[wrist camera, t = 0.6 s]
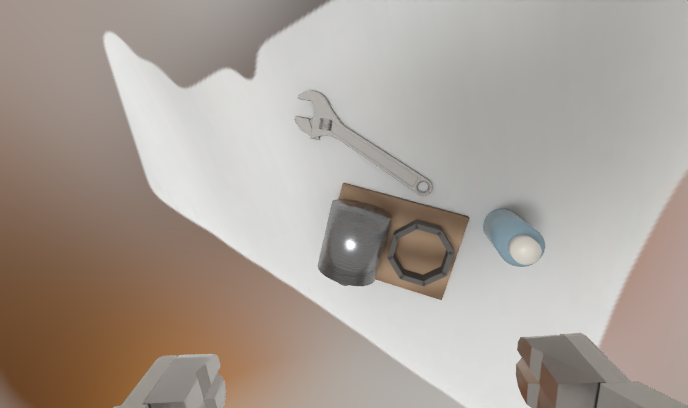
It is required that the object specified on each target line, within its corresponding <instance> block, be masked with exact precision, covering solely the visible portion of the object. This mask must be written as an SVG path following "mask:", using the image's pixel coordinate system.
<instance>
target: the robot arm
mask: <svg viewBox="0 0 688 408" xmlns="http://www.w3.org/2000/svg"><path fill="white" fill-rule="evenodd" d="M517 350H518V352H519V354H520V355H521V357H522V358H521V359H520V361H519V362H518V363H517V364H516V378H517V383H518V387H519V390H520V392H521V395H522V397H523V399H524V400H525V402H526V404H527V405H529V406H530V407H531V408H688V406H687V405H685V404H683V403H681V402H679V401H677V400H675V399H673V398H671V397H669V396H667V395H665V394H663V393H661V392H659V391H656V390H655V389H652V388H651V387H649V386H647V385H645V384H643V383H641V382H631V381H630V380H629V379H628V378H627V377H626V376H625V374H623V372H621V371H620V369H618V367H617V366H616V365H615V364H614V363H613V362H612V361H610V360H609V359H608V357H607V356H606V355H605V354H604V353H603V352H602V351H601V350H600V349H599V348H598V347H597V346H596V345H595V344H594V343H593V342H592V341H591V340H590V339H589V338H588V337H587V336H586V335H584V334H582V333H572V334H560V335H550V336H534V337H520V339H519V341H518V348H517ZM220 366H221V365H220V362H219V358H218V356H217V355H214V354H198V355H178V356H175V355H174V356H162V357H160V358H158V359H157V360H156V361H155V362H154V364H153V365H152V366H151V368H150V369H149V370H148V371H147V373H146V374H145V375H144V377H143V378H142V379H141V380H140V382H139V383H138V385H137V386H136V387H135V388H134V390H133V391H132V392H131V393H130V395H129V396H128V397H127V399H126V400H125V401H124V403H123V404H122V405H121V406H115V407H113V408H223V407H224V403H225V397H226V386H225V382H224V379H223V378H222V377H221V376H220V375H219V374H218V373H217V372H218V370H219V368H220Z"/></svg>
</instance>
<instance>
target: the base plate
mask: <svg viewBox="0 0 688 408" xmlns="http://www.w3.org/2000/svg"><path fill="white" fill-rule="evenodd" d="M339 199H347V200H354V201H360V202H364V203H367V204H371V205H374V206H377V207H379V208H381V209H384V210H386V211H387V212H389V213H390V214H391V215H392V221H391V224H390V228H389V231H388V235H387V238H386V242H385V246H384V249H383V253H382V256H381V260H380V263H379V267H378V271H377V274H376V278H375V279H376V280H379V281H382V282H386V283H389V284H392V285H395V286H398V287H402V288H405V289H408V290H411V291H414V292H417V293H421V294H424V295H427V296H430V297H433V298H437V299H440V300H442V297H443V294H444V291H445V288H446V285H447V282H448V280H449V277H450V274H451V271H452V268H453V265H454V262H455V259H456V256H457V253H458V250H459V247H460V244H461V241H462V238H463V235H464V232H465V229H466V226H467V223H468V220H469V217H467V216H463V215H460V214H456V213H452V212H449V211H445V210H441V209H438V208H434V207H430V206H427V205H423V204H419V203H416V202H412V201H408V200H404V199H401V198H397V197H393V196H390V195H386V194H382V193H379V192H375V191H371V190H368V189H364V188H360V187H357V186H353V185H349V184H346V183H343V185H342V189H341V193H340V197H339ZM415 220H419V221H423V222H426V223H430V224H433V225H437V226H441V228H442V230H443V231H444V233H445V235H446V237H447V238H448V240H449V242H450V243H451V245H452V247H453V250H454V256H453V259H452V262H451V265H450V268H449V271H448V274H447V276H446V277H444V278H442V279H439V280H437V281H435V282H433V283H431V284H428V285H426V286H421V285H417V284H414V283H411V282H408V281H404V280H401V279H399V277H398V275H397V274H396V272H395V270H394V269H393V267H392V265H391V264H390V262H389V260H388V259H387V257H388V253H389V249H390V246H391V242H392V239H393V235H394V232H395V230H397V229H399V228H401V227H403V226H405V225H407V224H409V223H411V222H413V221H415ZM394 253H395V255H396V257H397V258H398V260H399V262H400V263H401V265H402V267H403V269H406V270H409V271H412V272H415V273H419V274H422V275H424V274H426V273H428V272H430V271H432V270H434V269H436V268H439V267H441V265H442V262H443V259H444V256H445V253H446V248H445V247H444V245H443V243H442V241H441V240H440V238H439V236H438V235H435V234H432V233H428V232H425V231H421V230H418V229H416V230H415V231H413V232H411V233H409V234H407V235H405V236H403V237H401V238H399V239H398V242H397V245H396V248H395V252H394Z"/></svg>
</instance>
